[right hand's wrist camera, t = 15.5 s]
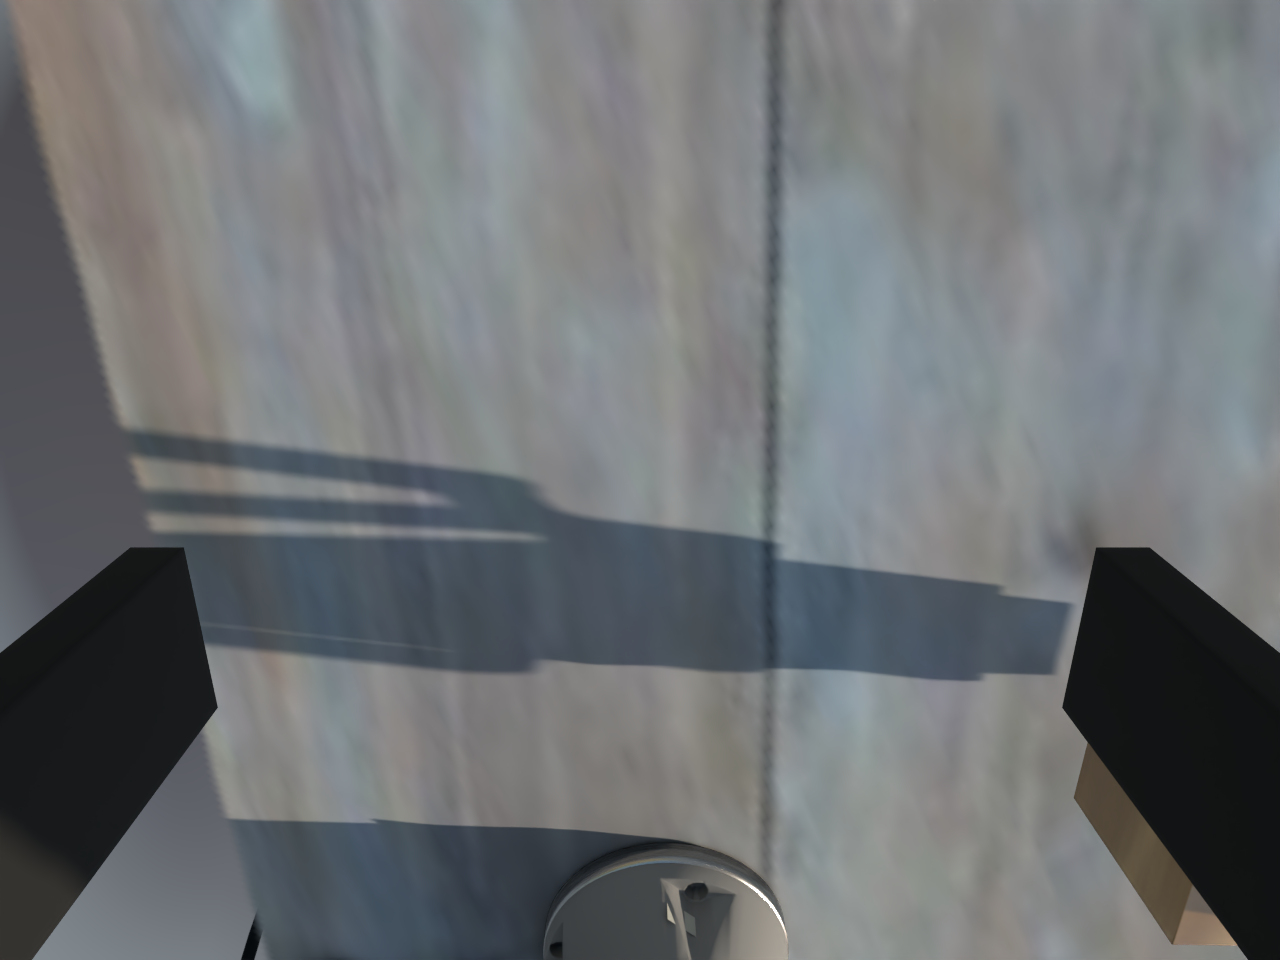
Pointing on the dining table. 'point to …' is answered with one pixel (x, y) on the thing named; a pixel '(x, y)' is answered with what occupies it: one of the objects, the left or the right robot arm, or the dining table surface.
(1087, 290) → the dining table surface
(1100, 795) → the bar
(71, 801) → the right robot arm
